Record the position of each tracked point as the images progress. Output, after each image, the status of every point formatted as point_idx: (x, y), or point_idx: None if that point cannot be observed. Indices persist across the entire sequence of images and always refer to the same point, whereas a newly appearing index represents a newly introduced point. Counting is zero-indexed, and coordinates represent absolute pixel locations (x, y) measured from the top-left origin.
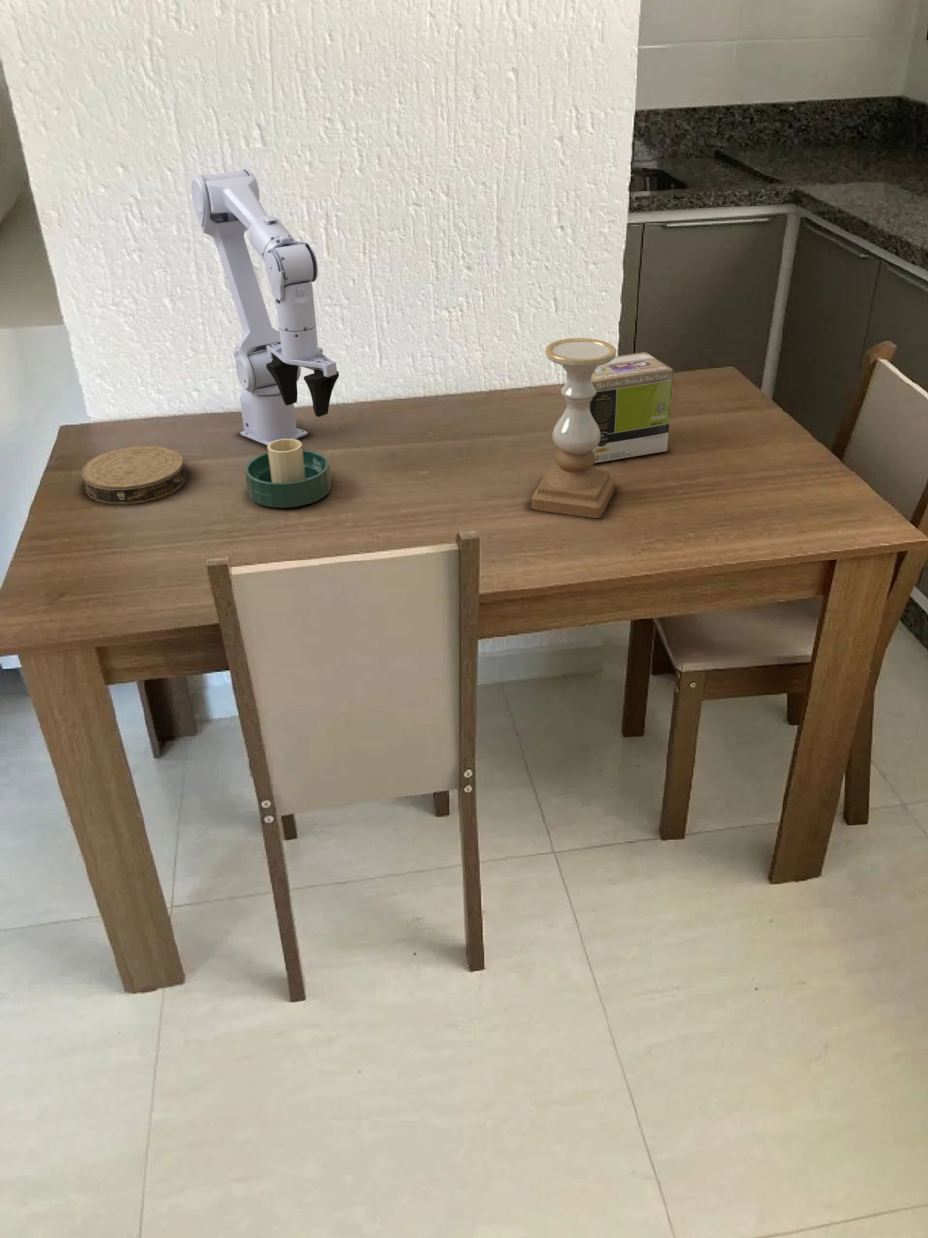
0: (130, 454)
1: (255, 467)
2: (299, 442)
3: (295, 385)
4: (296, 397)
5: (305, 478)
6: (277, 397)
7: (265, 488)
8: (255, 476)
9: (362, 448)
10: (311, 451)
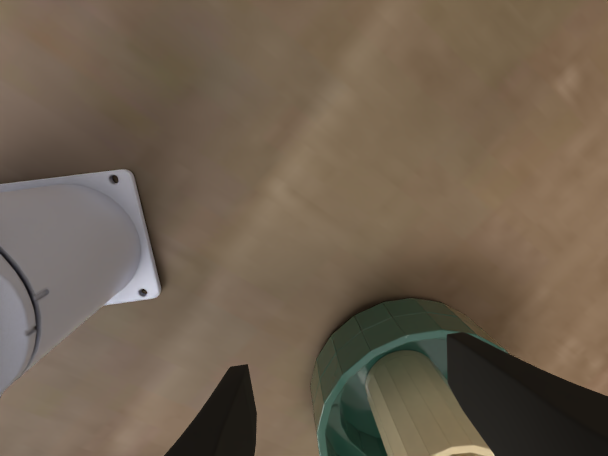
0: None
1: (332, 452)
2: (479, 451)
3: (230, 427)
4: (245, 379)
5: (438, 372)
6: (48, 330)
7: None
8: (352, 453)
9: (324, 105)
10: (402, 341)
